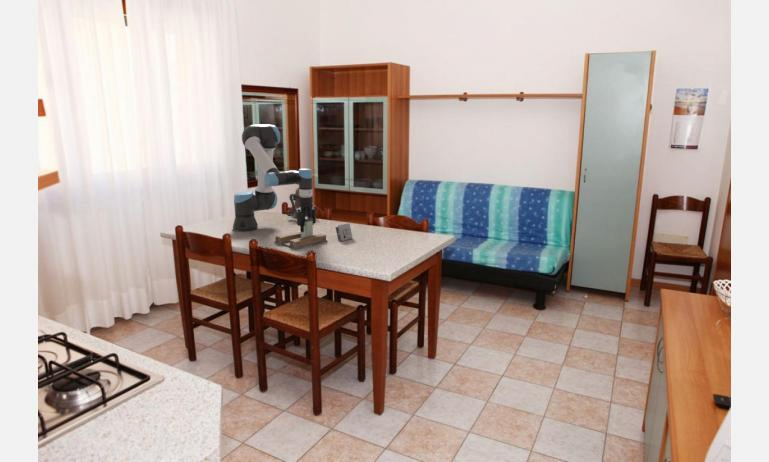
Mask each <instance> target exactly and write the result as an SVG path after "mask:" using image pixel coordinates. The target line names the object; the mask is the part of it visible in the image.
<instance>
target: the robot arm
mask: <svg viewBox="0 0 769 462" xmlns="http://www.w3.org/2000/svg"><path fill="white" fill-rule="evenodd" d="M241 141H242V144H243V146H244V148H245V149H246V150H249V152H250V153H251V155H252V157H253V158H254V160H255V161H256V163H257V164H258V168H257V169H258V170H257V171H258V172H257V186H256V187H255V188H254V191H253V190H243V191H242V190H241V191H239V192H236V193H235V194H234V197H233V203H234V220H233V225H232V230H233V231H234V232H235V231H236V232H252V231H256V230H258V229H259V225H258V222H257V220H256V217H255V216H256V215H255V212H260V211H268V210H272V209H274V208H276V206H277V203H278V196H277V195H278V194H277V192H275V189H274V187H278V186H287V185H298V188H299V196H300V197H299V203H300V207H299V208H298V209H296V213H297V219H296V225H297V226H298V227H300V230H299V231H301V236H302V237H306V235H305V226H304V223H305V216H306V213H307V216H308V217H309V218H313V226H314V225H315V224H316V222H317V221H316V211H317V206H316V205H313V203H314V201H313V200H314V198H313V193H314V192H313V170H312V169H311V168H299V169H298V170H296V169H290V170H286V171H280V170H279V169H278V167H277V166H276V165H275V163H274V160H273V159H274V150H275V149H277V145H278V144H279V143H280V142H281V133H280V130H279V128H278V126H276V125H274V124H251V125H248V126H246V127H245V128H244V129H243V131H242V134H241Z"/></svg>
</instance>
